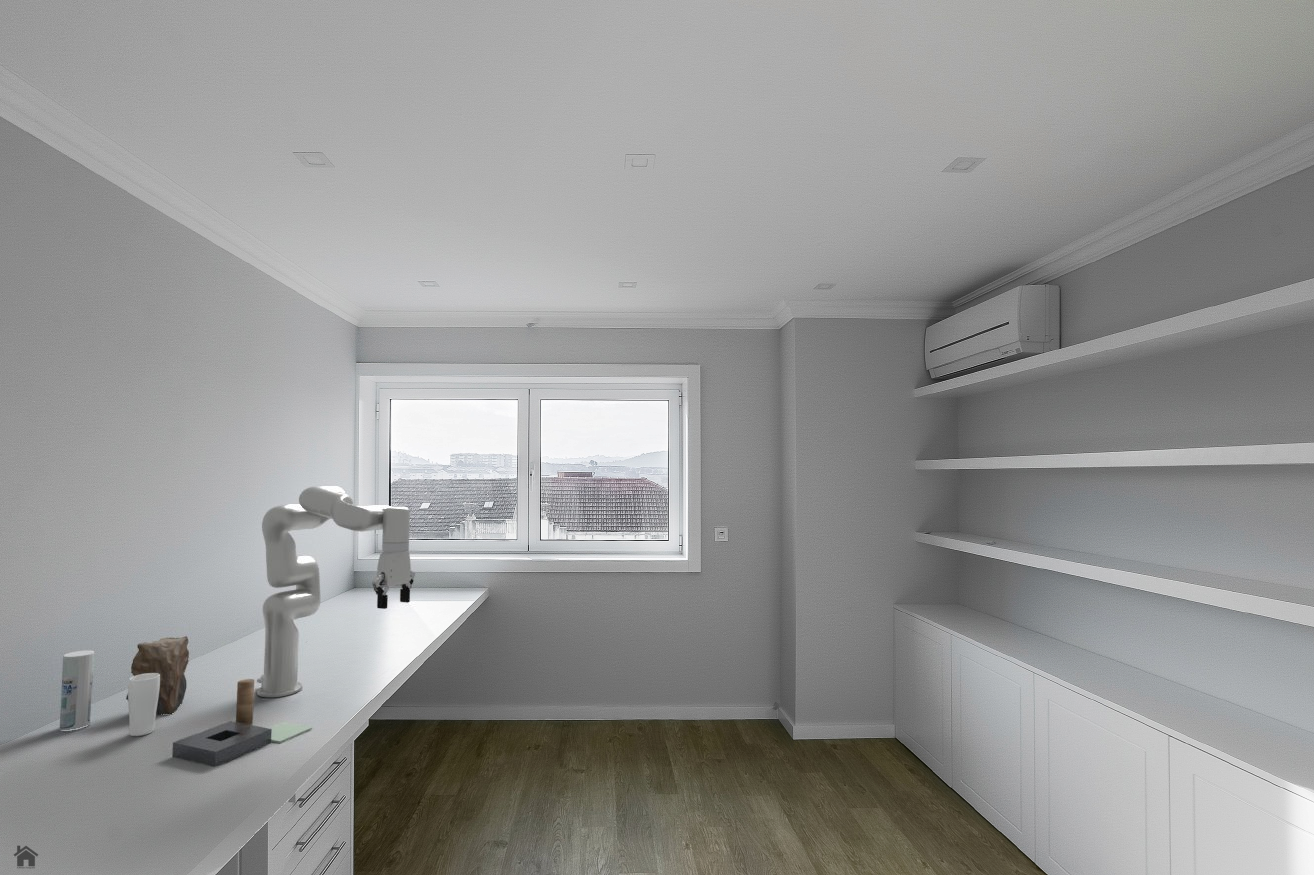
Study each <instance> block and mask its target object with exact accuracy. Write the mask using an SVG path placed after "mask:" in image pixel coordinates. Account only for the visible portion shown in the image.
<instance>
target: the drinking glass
mask: <svg viewBox="0 0 1314 875" xmlns="http://www.w3.org/2000/svg"><path fill="white" fill-rule="evenodd" d="M159 690H160V674H158V673H146V674H140V675H136V676H134V675H133V676H131V677H130V678H129V679H128V685H127V694H128V700H127V703H128V720H129V724H128V726H129V728H128V729H129V731H128V734H129V735H130V736H131V737H142V736H146V735H149V734H151V733H153V732H154V730H155V726H156V725H155V722H156V716H157V715H156V710H157V704H158V697H159Z"/></svg>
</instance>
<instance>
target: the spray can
mask: <svg viewBox="0 0 1314 875" xmlns="http://www.w3.org/2000/svg"><path fill="white" fill-rule="evenodd" d="M94 665H95V651H94V650H77V651H71V652H68V653H65V654H63V656H62V668H61V669H62V671H61V692H60V693H61V694H60V712H59V713H60V714H59V731H60V730H70V729H76V728H80V727H83V726H86V725H88V724H89V723H90V724H91V715H92V714H91V712H92V699H93V698H92V697H93V696H92V695H93V684H94V683H93V681H94V680H93V679H94ZM90 724H89V725H90Z"/></svg>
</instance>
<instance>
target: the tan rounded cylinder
mask: <svg viewBox="0 0 1314 875" xmlns="http://www.w3.org/2000/svg"><path fill="white" fill-rule="evenodd" d="M236 685H237V689H236V708H235V709H236V711H235V712H236V713H235V722H238V723H243V724H249V725H253V723H254V721H253V720H254V718H253V717H254V701H255V700H254V699H255V698H254V696H255V679H253V678H246V679H241V680H239V681H237V684H236Z"/></svg>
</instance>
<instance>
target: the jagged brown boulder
mask: <svg viewBox="0 0 1314 875" xmlns="http://www.w3.org/2000/svg"><path fill="white" fill-rule="evenodd" d="M188 644H189V638H188V636H187V635H185V636H183V637H182V636H181V637H171V636H170V637H163V638H160V639H159V640H155V641H150V642H142V643H138V644H137V649H138V651H137V653H135V656H134V657H133V659H132V663H131V667H130V669H131V672H130V673H131V674H132V675H133V676H136V675H140V674H146V673H158V674H160V690H159V697H158V704H157V710H156V714H157V715H156V716H164V715H163V714H171V715H173V714H172V713H174V712H175V713H176V711H177V710H178V709H179V708H180V707H181V705H182V704H183V700H184V698H185V695H186V691H187V687H188V686H187V684H188V683H187V678H186V675H185V672H186V669H187V666H188V665H189V662H190V660H189V656H190V651H189V650H188ZM125 700H127V701H128V693H127V694H126V698H125ZM180 704H181V705H180ZM179 706H180V707H179ZM178 707H179V708H178ZM175 713H174V714H175ZM161 714H162V715H161Z"/></svg>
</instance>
